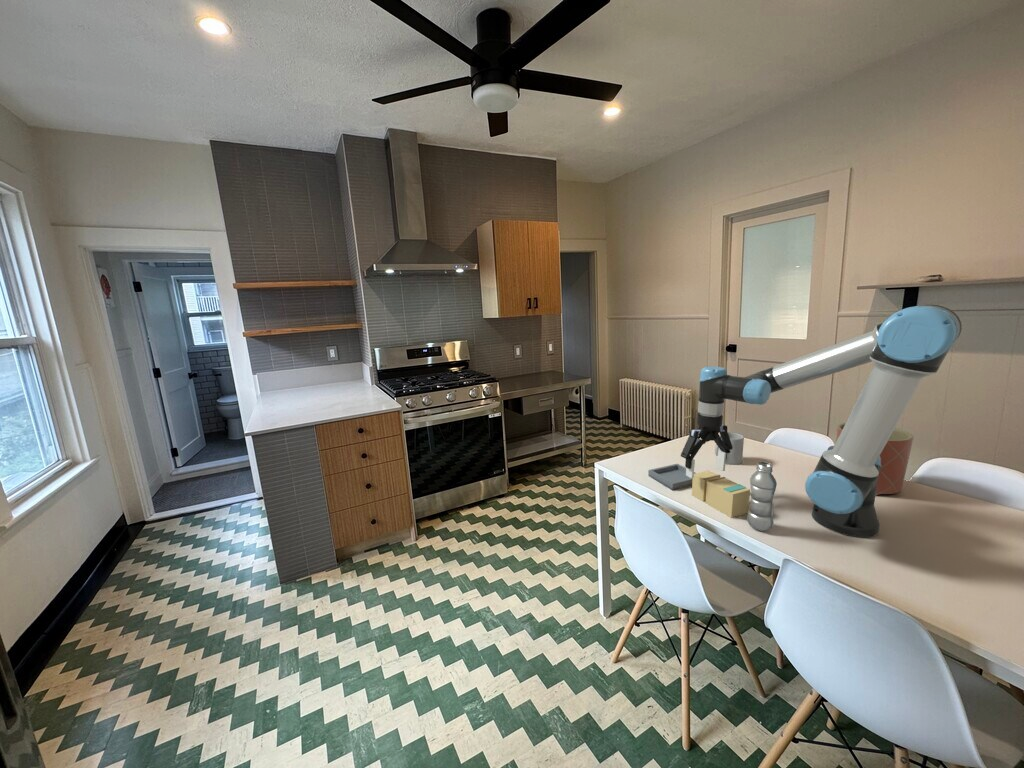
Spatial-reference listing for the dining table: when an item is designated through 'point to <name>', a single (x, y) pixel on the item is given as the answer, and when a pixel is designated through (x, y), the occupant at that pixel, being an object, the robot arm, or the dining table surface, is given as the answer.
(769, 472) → the plastic bottle
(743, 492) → the tan teal-banded block
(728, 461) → the mug
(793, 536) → the dining table surface
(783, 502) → the dining table surface
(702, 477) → the plain tan block
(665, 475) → the tray
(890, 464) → the planter
